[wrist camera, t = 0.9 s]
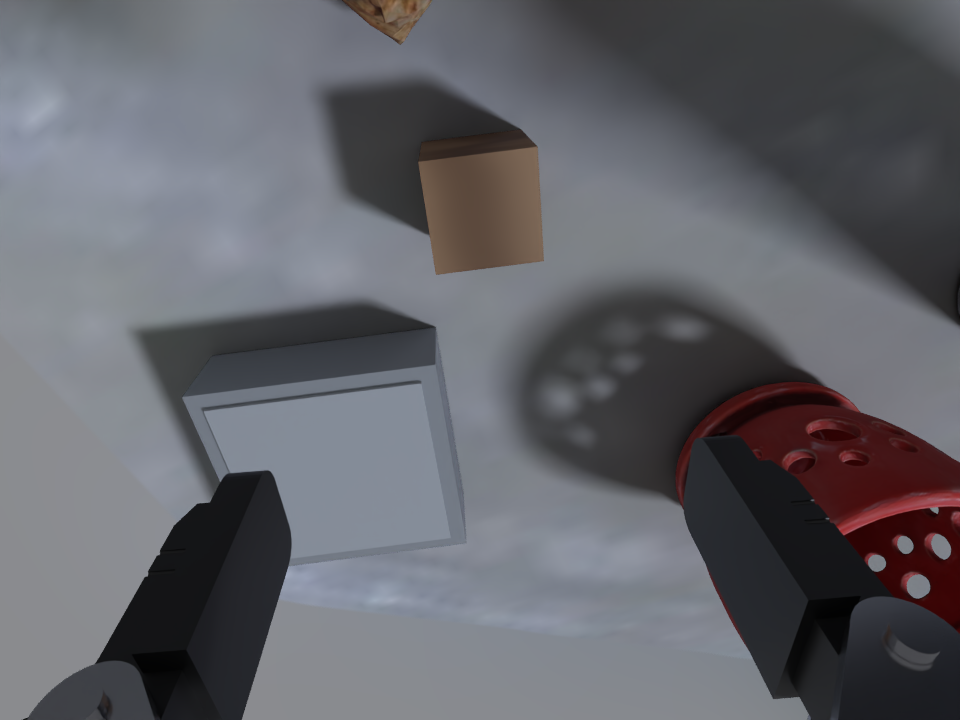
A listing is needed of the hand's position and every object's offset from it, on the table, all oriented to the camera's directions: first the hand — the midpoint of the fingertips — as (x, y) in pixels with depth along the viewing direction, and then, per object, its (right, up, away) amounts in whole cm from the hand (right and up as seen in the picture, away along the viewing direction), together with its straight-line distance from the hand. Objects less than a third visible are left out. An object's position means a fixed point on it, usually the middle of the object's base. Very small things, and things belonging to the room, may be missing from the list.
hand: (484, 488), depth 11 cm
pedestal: (-8, -2, +22) cm, 23 cm away
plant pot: (+18, -3, +25) cm, 30 cm away
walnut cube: (0, +11, +16) cm, 19 cm away
